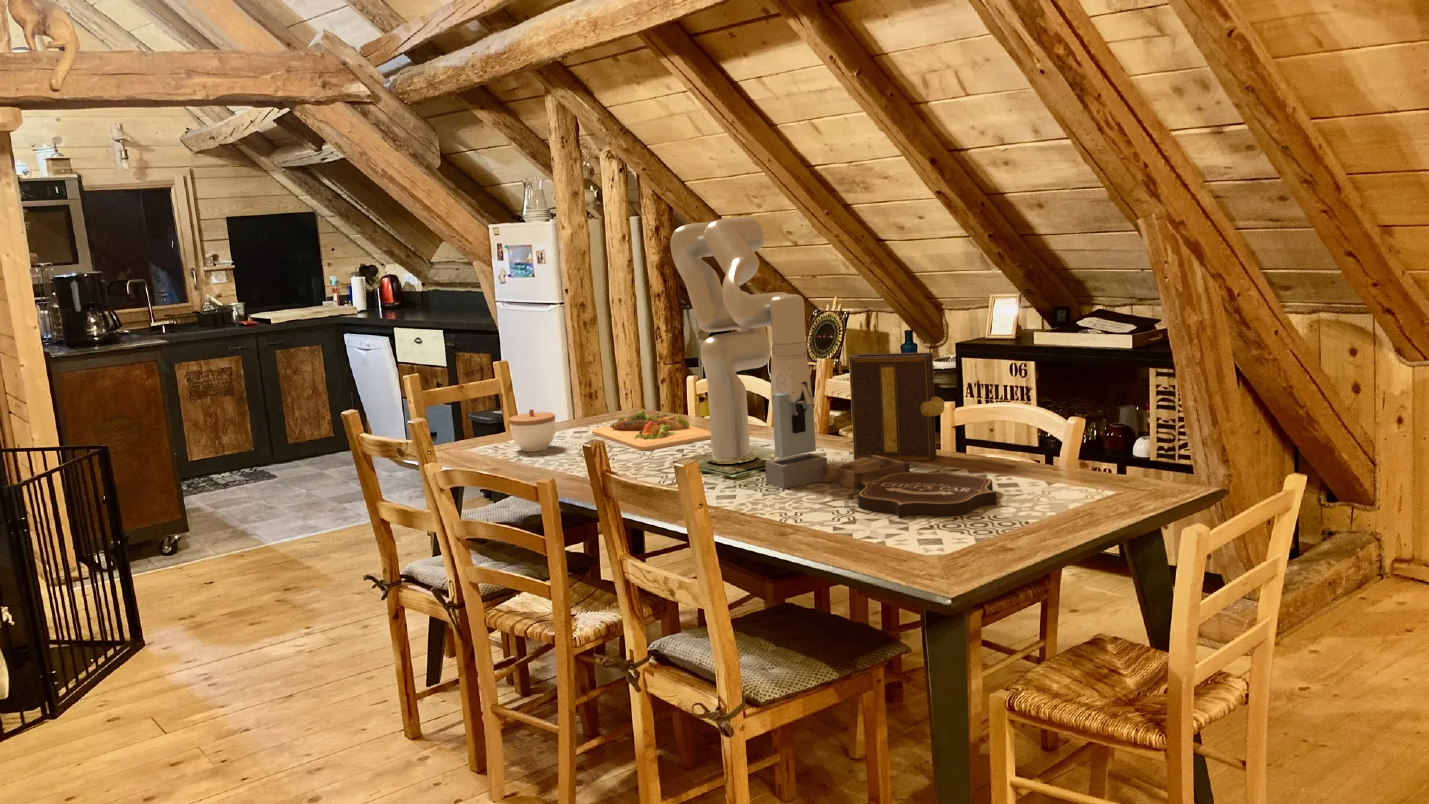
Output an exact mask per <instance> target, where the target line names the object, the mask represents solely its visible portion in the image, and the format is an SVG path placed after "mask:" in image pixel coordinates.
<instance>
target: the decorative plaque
mask: <svg viewBox="0 0 1429 804" xmlns="http://www.w3.org/2000/svg"><path fill="white" fill-rule="evenodd" d="M997 500H998V499H997V491H993V480H992V479H991V478H988V477H985V476H980V475H969V474H959V473H953V472H951V470H947V471H942V472H941V471H940V472H917V471H914V472H913V471H910V472H901V473H893V474H889V475H886V476H884V477H882V478H880V479H877V480H874V481H869V482H859V490H858V492H857V505H858V508H859V509H861V510H863V511H866V510H867V512H872V513H873V512H874V513H880V514H881V513H882V514H883V513H884V514H890V515H893V516H894V515H895V516H897V517H898V519H901V518H907V517H908V518H909V517H931V518H932V517H933V518H953V517H961V516H965V515H969V514H970V513H972V512H974V511H975V510H977V509H979V508H982V507H987V506H997V505H998V503H997Z"/></svg>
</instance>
